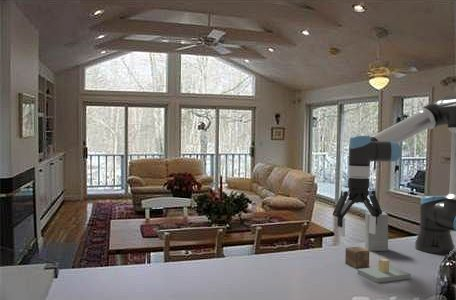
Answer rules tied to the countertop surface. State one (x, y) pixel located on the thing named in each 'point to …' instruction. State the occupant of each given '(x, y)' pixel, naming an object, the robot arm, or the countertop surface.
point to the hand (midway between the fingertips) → (357, 234)
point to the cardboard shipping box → (357, 257)
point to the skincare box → (377, 233)
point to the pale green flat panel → (383, 272)
